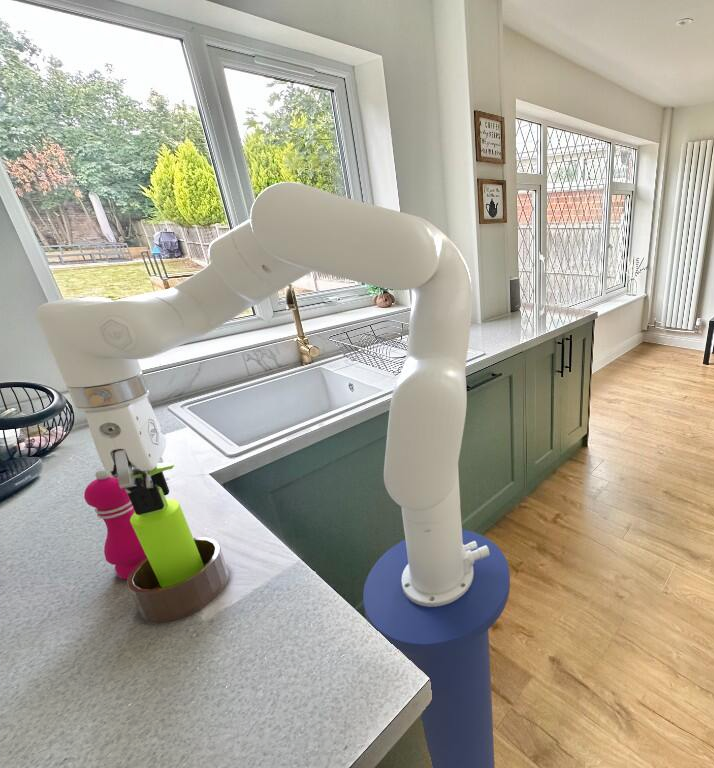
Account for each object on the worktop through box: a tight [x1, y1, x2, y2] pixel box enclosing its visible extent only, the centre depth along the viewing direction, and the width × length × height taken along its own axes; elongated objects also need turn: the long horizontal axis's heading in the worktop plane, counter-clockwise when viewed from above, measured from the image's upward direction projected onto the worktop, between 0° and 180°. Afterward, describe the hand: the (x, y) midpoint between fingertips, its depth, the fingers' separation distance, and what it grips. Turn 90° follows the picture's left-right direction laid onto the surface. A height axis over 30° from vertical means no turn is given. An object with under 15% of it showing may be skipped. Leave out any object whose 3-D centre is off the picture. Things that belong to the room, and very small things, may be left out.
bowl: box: [126, 536, 230, 624], centre depth 68 cm, size 12×12×6 cm
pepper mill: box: [83, 468, 147, 580], centre depth 70 cm, size 7×7×20 cm
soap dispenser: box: [130, 461, 204, 588], centre depth 65 cm, size 6×7×20 cm
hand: (153, 502), depth 62 cm, fingers closed on soap dispenser, 3 cm apart
